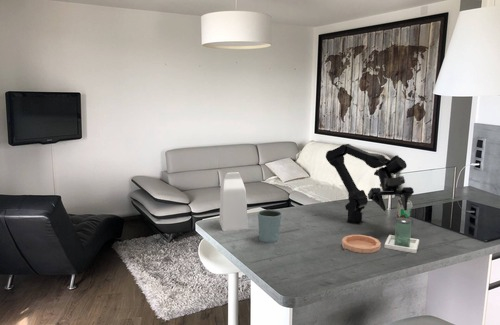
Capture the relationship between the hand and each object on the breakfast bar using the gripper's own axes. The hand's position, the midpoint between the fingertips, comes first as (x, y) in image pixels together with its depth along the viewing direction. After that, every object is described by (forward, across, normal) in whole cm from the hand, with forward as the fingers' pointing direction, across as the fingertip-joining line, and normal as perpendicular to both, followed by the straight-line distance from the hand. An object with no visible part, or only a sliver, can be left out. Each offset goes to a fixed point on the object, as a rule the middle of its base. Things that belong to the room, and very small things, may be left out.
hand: (395, 210), depth 170 cm
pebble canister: (+14, 0, +3) cm, 15 cm away
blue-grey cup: (+6, -53, +14) cm, 55 cm away
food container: (-7, +16, +27) cm, 32 cm away
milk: (-8, -68, +27) cm, 74 cm away
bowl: (+14, -17, +5) cm, 23 cm away
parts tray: (+15, 0, +4) cm, 16 cm away
